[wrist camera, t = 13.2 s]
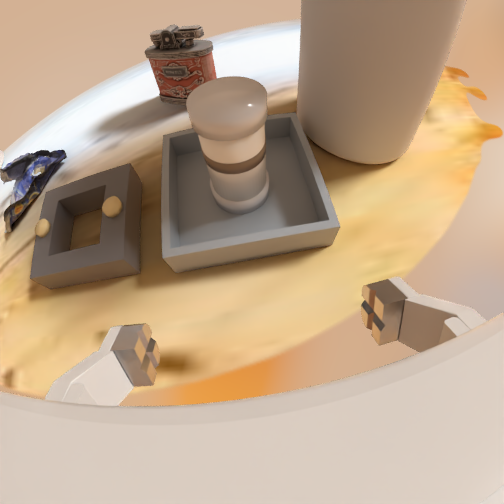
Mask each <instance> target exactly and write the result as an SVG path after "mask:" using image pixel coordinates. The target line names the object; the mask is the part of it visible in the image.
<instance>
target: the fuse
mask: <svg viewBox="0 0 504 504" xmlns="http://www.w3.org/2000/svg"><path fill="white" fill-rule="evenodd" d="M186 107H187V111H188V114H189V118H190V121H191V124H192V127H193V129H194V131H195V132H196V133H197V134H198V137H199V140H200V144H201V150H202V153H203V157H204V160H205V162H206V164H207V168H208V171H209V175H210V187H211V190H212V194H213V197H214V200H215V202H216V204H217V205H218V206H219V207H220V208H221V209H223V210H224V211H226V212H229V213H233V214H246V213H250V212H253V211H255V210H257V209H258V208H260V207H261V206H262V205H263V204H264V203H265V201H266V200H267V198H268V195H269V175H268V172H267V170H266V136H265V122H266V120H267V92H266V89H265V88H264V87H263V85H261V84H260V83H259V82H257V81H255V80H253V79H249V78H245V77H222V78H217V79H214V80H211V81H208V82H206V83H204V84H202V85H200V86H199V87H197V88H196V89H195V90H193V91H192V92H191V94H190V95H189V96H188V98H187V101H186Z"/></svg>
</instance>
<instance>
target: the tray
mask: <svg viewBox="0 0 504 504" xmlns="http://www.w3.org/2000/svg"><path fill="white" fill-rule="evenodd" d="M265 136H266V170H267V172H268V175H269V195H268V198H267V200H266V201H265V203H264V204H263V205H262V206H261V207H260V208H258V209H257V210H255V211H253V212H250V213H246V214H233V213H229V212H226V211H224V210H223V209H221V208H220V207H219V206H218V205H217V204H216V202H215V200H214V197H213V194H212V190H211V187H210V175H209V171H208V168H207V164H206V162H205V160H204V157H203V153H202V150H201V144H200V140H199V137H198V134H197V133H196V132H195V131H194V129H193V128H192V129H187V130H183V131H179V132H175V133H171V134H167V135H163V152H162V183H161V227H162V258H163V259H164V261H165V262H166V263H167V264H168V265H169V266H170V267H171V268H172V269H173V270H174V271H175V273H179V272H185V271H191V270H196V269H202V268H208V267H213V266H219V265H225V264H230V263H236V262H241V261H247V260H253V259H258V258H264V257H269V256H275V255H280V254H286V253H291V252H297V251H302V250H308V249H313V248H318V247H324V246H329V245H332V244H333V241H334V239H335V237H336V235H337V233H338V230H339V228H340V224H339V221H338V218H337V215H336V212H335V210H334V207H333V204H332V201H331V198H330V196H329V193H328V190H327V187H326V185H325V182H324V180H323V177H322V174H321V172H320V169H319V167H318V164H317V162H316V159H315V157H314V154H313V152H312V149H311V147H310V145H309V142H308V140H307V138H306V135H305V133H304V131H303V128H302V126H301V124H300V122H299V119H298V117H297V115H296V113H295V112H293V113H284V114H275V115H267V120H266V122H265Z"/></svg>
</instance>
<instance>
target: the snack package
mask: <svg viewBox="0 0 504 504" xmlns="http://www.w3.org/2000/svg"><path fill="white" fill-rule="evenodd" d="M44 156H49V157H50V158H47V157H44ZM66 157H67V156H66V153H65V151H64V150H58V151H53V152H51V153H50V152H49V151H46V150H40V151H37V152H36V153H31V154H30V153H27V154H25V155H23V156H20V157H19V158H17V159H15V160H14V161H13V162H12V163H8V164H7V165H6V167H5V168H4V169H0V172H1V174H0V175H1V180H2V181H3V182H4V183H5V182H8V181H12V180H16V182H15V184H14V185H15V187H14V188H13V191H12V195H11V205H10V206H9V207H8V208H7V209H6V210H5V212H4V221H5V223H6V230H5V233H6V232H12V230H11V225H12V224H13V223H14V222H15V221H16V220H17V218H19V216H20V215H21V214H22V212H24V210H25V208H27V206H28V205H29V204H30V203H31V202H32V201H33V200H34V199H35V198H36V197H37V196H38V194H39V193H40V192H41V191H42V189H43V187H44V185H45V183H46V182H47V180H48V178H49V176H50V174H51V173H52V171H53V169H54V167H55V166H56V165H57V164H58V163H60V162H61V161H62V160H63V159H65V158H66ZM33 170H34V174H36V173H38V172H41V174H40V175H38V176H33V175H32V172H33ZM29 186H30V187H29Z"/></svg>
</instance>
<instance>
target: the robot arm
mask: <svg viewBox="0 0 504 504" xmlns="http://www.w3.org/2000/svg"><path fill="white" fill-rule="evenodd" d="M3 160H4V152H3V151H2V150H0V169H1V167H2V164H3ZM362 296H363V298H364V299H365V300H364V302H363V303H362V305H361V315H362V320H363V322H364V324H365V326H366V328H368V329H370V330H372V337H373V338H374V339H375V341H376V342H377V344H378V345H383V344H386V343H390V342H393V341H396V340H398V341H399V342H401V343H403V344H405V345H407V346H409V347H410V348H412V349H414V350H416V351H418V352H420V353H418V354H415V355H413V356H410V357H407V358H405V359H402V360H399V361H396V362H394V363H391V364H388V365H385V366H382V367H379V368H376V369H373V370H370V371H367V372H363V373H360V374H357V375H353V376H349V377H346V378H342V379H339V380H335V381H331V382H327V383H323V384H319V385H315V386H310V387H307V388H302V389H297V390H292V391H287V392H282V393H277V394H271V395H265V396H259V397H253V398H246V399H239V400H232V401H223V402H213V403H203V404H192V405H173V406H118V405H119V404H120V403H121V401H122V400H123V399H124V398H125V397H126V396H127V395H128V394H129V392H130V391H131V390H132V389H133V388H134V387H135V386H151V385H154V381H155V377H156V371H155V368H156V367H157V366H158V365H159V361H160V352H159V348H158V345H157V343H156V341H155V340H153V339H152V338H151V334H152V331H151V329H150V327H149V325H148V324H146V323H145V324H134V325H124V326H123V325H121V326H113V327H111V328H110V330H109V332H108V334H107V335H106V337H105V339H104V341H103V343H102V345H101V347H100V349H99V351H98V352H94V353H92V354H91V355H90V356H88V357H87V358H85V359H84V360H83V361H81V362H80V363H79V364H77V365H76V366H74V367H73V368H72V369H70V370H69V371H67V372H66V373H65V374H63V375H62V376H61V377H59V378H58V379H56V380H55V381H54V382H53V384H52V386H51V388H50V390H49V391H48V393H47V395H46V397H45V399H39V398H33V397H27V396H22V395H17V394H12V393H7V392H3V391H0V504H504V312H503V313H501V314H500V315H498V316H496V317H494V318H492V319H491V320H489V321H486V320H485V319H484V318H483V317H482V316H480V315H479V314H478V313H477V312H476V311H475V310H474V309H473V308H470V307H467V306H463V305H460V304H456V303H453V302H449V301H445V300H442V299H438V298H435V297H431V296H428V295H424V294H421V295H419V294H418V293H417V292H416V291H414V290H413V289H412V288H411V287H410V286H409V285H408V284H407V283H405V281H403V280H402V279H401V278H400V277H397V276H396V277H393V278H389V279H386V280H383V281H379V282H375V283H372V284H368V285H364V286H363V288H362Z"/></svg>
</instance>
